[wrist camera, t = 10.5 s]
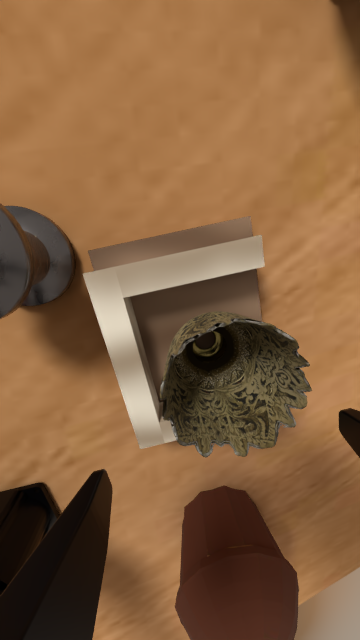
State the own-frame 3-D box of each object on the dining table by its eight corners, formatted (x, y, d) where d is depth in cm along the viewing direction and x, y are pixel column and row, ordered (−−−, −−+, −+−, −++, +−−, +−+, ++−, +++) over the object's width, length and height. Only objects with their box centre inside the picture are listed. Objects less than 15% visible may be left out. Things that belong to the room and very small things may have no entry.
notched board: (263, 399, 22) (286, 428, 18) (147, 427, 21) (145, 463, 18) (242, 219, 17) (266, 207, 13) (93, 251, 17) (74, 248, 13)
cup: (257, 301, 17) (335, 332, 10) (238, 382, 19) (290, 462, 12) (166, 288, 16) (171, 312, 9) (155, 375, 18) (151, 457, 11)
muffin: (161, 491, 24) (162, 647, 14) (257, 465, 24) (322, 601, 14) (184, 558, 27) (198, 723, 17) (269, 535, 27) (328, 684, 18)
